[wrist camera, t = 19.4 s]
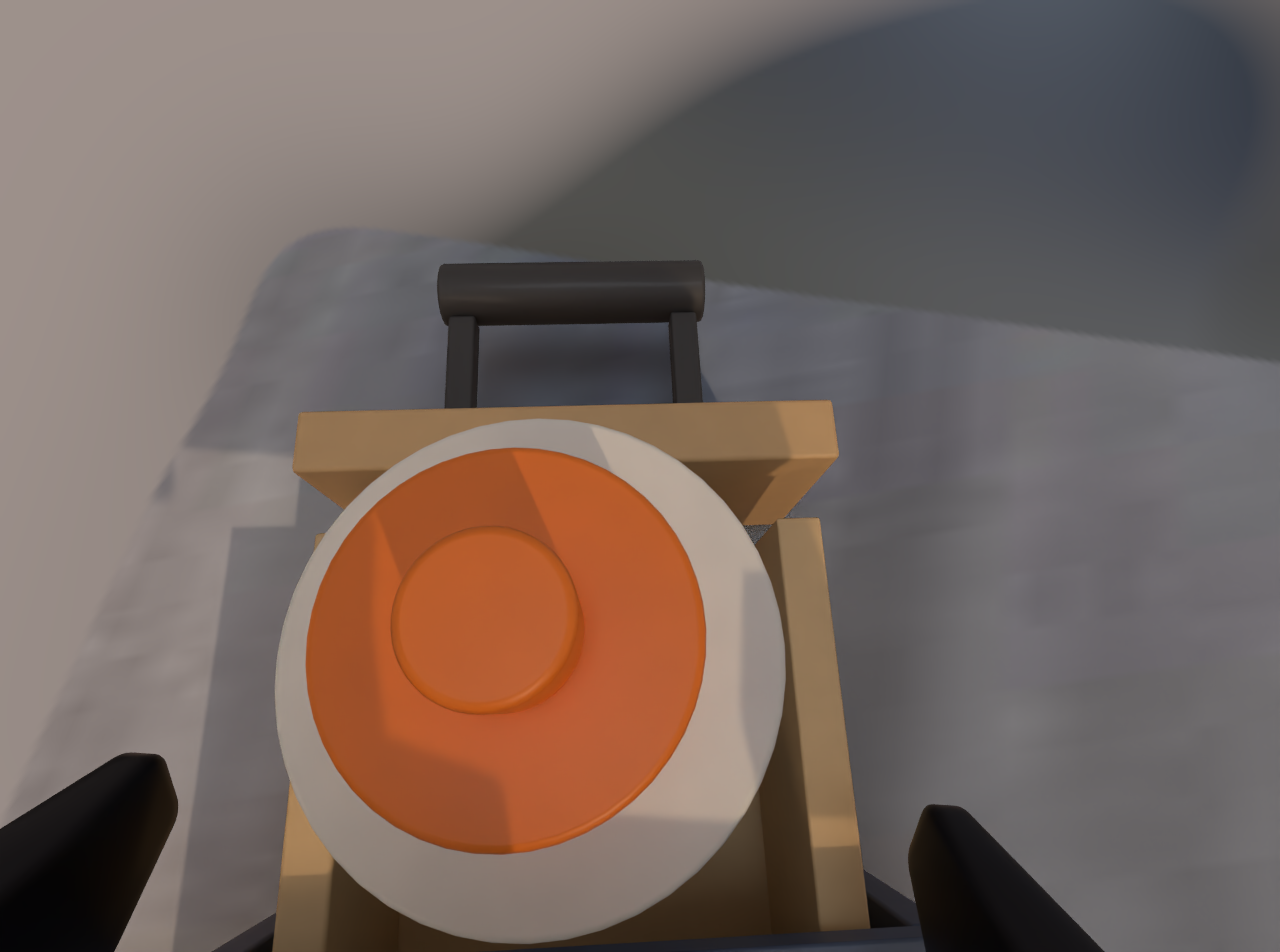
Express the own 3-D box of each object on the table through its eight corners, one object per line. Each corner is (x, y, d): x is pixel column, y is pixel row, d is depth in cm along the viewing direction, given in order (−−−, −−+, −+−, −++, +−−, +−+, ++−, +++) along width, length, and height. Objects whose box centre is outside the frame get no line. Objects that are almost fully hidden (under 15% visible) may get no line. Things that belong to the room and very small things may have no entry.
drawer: (394, 333, 19) (320, 206, 14) (758, 326, 20) (805, 202, 15) (332, 1147, 14) (180, 1386, 9) (842, 1111, 14) (960, 1319, 9)
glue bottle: (717, 740, 15) (1073, 849, 3) (523, 834, 15) (138, 1378, 3) (634, 555, 17) (685, 164, 5) (451, 633, 16) (-32, 408, 4)
